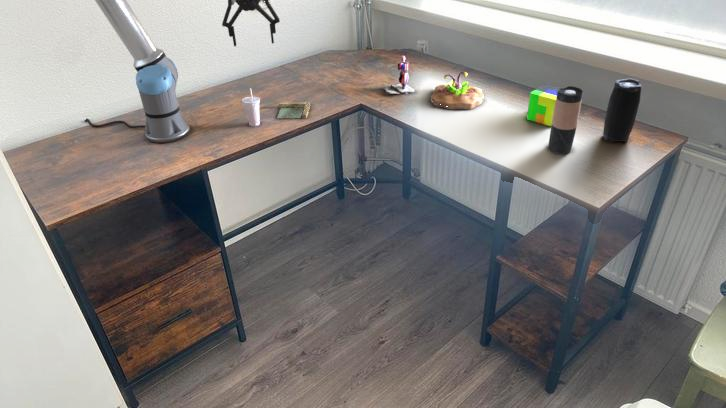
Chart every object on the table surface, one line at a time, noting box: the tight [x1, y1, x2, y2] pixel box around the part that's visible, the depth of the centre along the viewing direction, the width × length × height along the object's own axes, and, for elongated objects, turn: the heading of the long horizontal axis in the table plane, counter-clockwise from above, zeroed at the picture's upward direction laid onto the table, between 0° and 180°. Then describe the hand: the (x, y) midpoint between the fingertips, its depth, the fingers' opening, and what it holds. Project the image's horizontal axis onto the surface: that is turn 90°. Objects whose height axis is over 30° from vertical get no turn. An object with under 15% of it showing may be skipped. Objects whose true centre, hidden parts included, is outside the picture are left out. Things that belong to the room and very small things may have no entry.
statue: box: [381, 55, 416, 95], centre depth 220 cm, size 11×9×15 cm
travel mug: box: [548, 85, 584, 155], centre depth 174 cm, size 8×8×20 cm
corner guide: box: [276, 101, 311, 120], centre depth 209 cm, size 12×12×2 cm
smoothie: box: [241, 87, 261, 127], centre depth 198 cm, size 6×6×14 cm
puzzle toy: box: [526, 84, 560, 127], centre depth 195 cm, size 10×10×10 cm
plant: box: [430, 71, 485, 110], centre depth 212 cm, size 20×20×11 cm
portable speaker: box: [602, 77, 643, 144], centre depth 178 cm, size 9×9×20 cm
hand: (254, 43), depth 201 cm, fingers open, 13 cm apart
